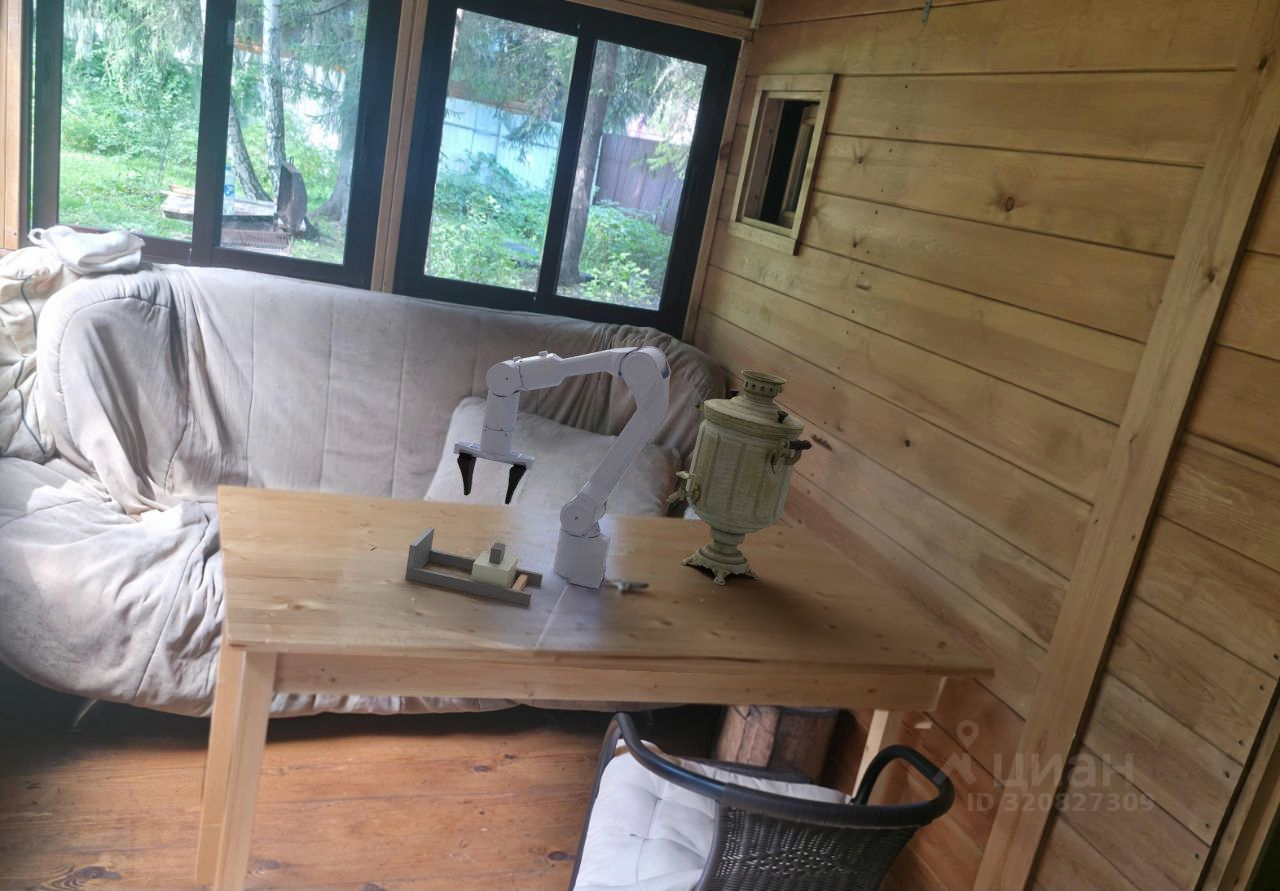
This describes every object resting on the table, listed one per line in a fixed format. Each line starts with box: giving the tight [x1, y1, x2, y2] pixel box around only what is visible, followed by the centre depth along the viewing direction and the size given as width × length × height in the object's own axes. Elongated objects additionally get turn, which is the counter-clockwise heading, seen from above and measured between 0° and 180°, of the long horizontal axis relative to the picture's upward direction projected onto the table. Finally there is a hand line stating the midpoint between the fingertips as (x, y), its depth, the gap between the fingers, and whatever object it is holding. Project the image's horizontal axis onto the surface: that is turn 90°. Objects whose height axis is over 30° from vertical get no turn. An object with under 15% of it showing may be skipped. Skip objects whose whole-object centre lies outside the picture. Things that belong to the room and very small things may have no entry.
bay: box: [404, 526, 544, 607], centre depth 169 cm, size 21×12×7 cm, turn 83°
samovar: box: [666, 369, 814, 585], centre depth 195 cm, size 30×26×40 cm
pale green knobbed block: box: [470, 542, 519, 588], centre depth 169 cm, size 6×7×7 cm
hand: (487, 498), depth 184 cm, fingers open, 7 cm apart
